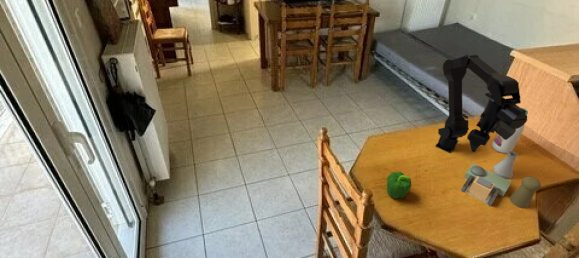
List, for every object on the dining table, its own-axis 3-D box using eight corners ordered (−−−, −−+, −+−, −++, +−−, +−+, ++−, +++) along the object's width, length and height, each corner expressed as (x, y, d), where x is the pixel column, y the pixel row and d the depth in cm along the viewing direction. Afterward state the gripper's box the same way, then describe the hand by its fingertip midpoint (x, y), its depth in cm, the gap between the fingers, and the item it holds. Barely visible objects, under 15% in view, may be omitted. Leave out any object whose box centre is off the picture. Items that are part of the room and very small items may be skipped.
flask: (515, 180, 122) (527, 161, 116) (495, 177, 123) (506, 158, 117) (509, 167, 128) (519, 148, 122) (489, 165, 129) (499, 146, 123)
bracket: (460, 190, 118) (462, 185, 116) (468, 179, 122) (470, 174, 121) (490, 206, 112) (493, 201, 110) (497, 193, 116) (500, 189, 115)
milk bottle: (512, 146, 138) (533, 108, 126) (511, 156, 133) (532, 117, 121) (492, 140, 142) (511, 103, 130) (490, 150, 136) (510, 111, 124)
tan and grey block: (468, 191, 117) (473, 181, 114) (472, 185, 120) (477, 174, 116) (485, 200, 114) (491, 189, 110) (489, 193, 116) (495, 183, 113)
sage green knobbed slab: (464, 177, 123) (467, 170, 121) (470, 168, 127) (473, 161, 125) (503, 196, 115) (506, 189, 113) (508, 186, 119) (512, 179, 117)
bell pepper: (379, 191, 117) (384, 172, 111) (393, 182, 121) (398, 163, 115) (397, 206, 112) (403, 186, 106) (411, 195, 116) (418, 176, 110)
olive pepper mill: (506, 195, 116) (519, 174, 109) (521, 194, 116) (535, 173, 109) (516, 208, 111) (531, 187, 104) (533, 207, 111) (548, 186, 105)
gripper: (510, 133, 100) (491, 168, 110) (526, 110, 111) (507, 144, 121) (474, 119, 107) (459, 154, 116) (492, 99, 117) (477, 132, 127)
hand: (477, 146), depth 120 cm, fingers open, 9 cm apart
